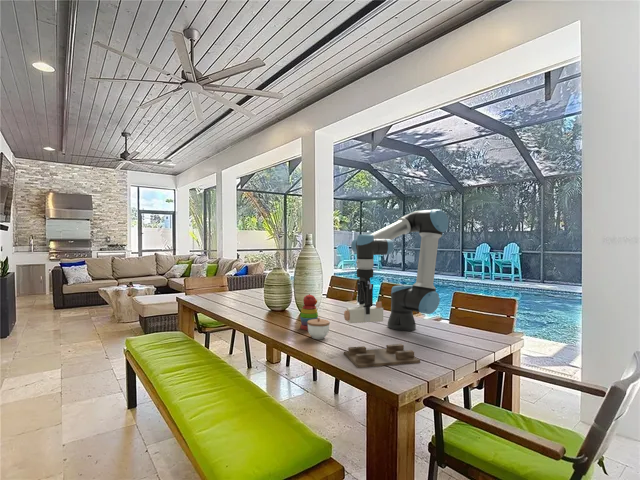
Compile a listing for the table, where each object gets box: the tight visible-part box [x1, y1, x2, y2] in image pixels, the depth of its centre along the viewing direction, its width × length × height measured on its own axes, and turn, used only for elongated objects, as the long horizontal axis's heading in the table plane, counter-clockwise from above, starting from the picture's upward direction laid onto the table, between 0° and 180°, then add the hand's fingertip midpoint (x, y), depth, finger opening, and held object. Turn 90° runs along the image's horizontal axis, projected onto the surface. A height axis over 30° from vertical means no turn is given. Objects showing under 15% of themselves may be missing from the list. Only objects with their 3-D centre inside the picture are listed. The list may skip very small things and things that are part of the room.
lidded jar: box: [307, 317, 331, 340], centre depth 169 cm, size 11×11×9 cm
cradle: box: [343, 343, 421, 369], centre depth 141 cm, size 26×16×4 cm, turn 105°
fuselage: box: [343, 301, 384, 324], centre depth 158 cm, size 17×4×8 cm, turn 105°
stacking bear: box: [299, 293, 319, 331], centre depth 186 cm, size 11×10×18 cm
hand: (364, 319), depth 158 cm, fingers closed on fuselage, 4 cm apart
